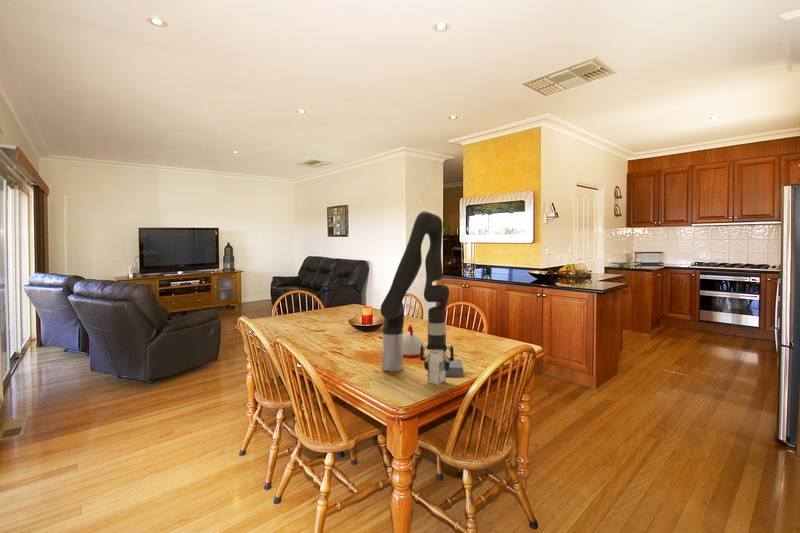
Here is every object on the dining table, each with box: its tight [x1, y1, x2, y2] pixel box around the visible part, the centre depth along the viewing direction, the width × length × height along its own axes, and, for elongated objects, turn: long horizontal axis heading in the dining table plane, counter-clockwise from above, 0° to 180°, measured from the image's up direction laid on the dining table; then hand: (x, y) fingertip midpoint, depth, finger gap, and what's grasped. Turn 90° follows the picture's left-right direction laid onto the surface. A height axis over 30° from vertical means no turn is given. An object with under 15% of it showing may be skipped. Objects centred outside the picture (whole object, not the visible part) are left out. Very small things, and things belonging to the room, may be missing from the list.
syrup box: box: [427, 349, 447, 386], centre depth 165 cm, size 6×6×14 cm
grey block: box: [446, 359, 464, 378], centre depth 177 cm, size 11×11×4 cm
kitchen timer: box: [403, 325, 425, 359], centre depth 204 cm, size 14×14×15 cm
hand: (436, 370), depth 165 cm, fingers closed on syrup box, 8 cm apart
